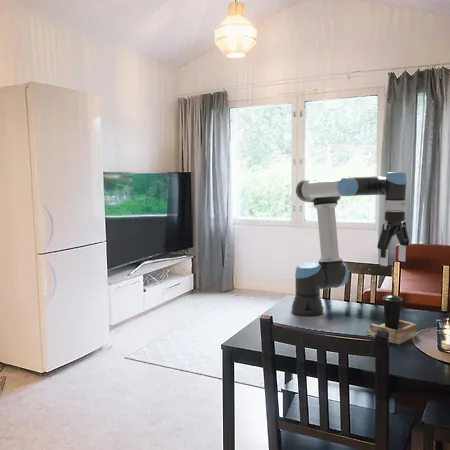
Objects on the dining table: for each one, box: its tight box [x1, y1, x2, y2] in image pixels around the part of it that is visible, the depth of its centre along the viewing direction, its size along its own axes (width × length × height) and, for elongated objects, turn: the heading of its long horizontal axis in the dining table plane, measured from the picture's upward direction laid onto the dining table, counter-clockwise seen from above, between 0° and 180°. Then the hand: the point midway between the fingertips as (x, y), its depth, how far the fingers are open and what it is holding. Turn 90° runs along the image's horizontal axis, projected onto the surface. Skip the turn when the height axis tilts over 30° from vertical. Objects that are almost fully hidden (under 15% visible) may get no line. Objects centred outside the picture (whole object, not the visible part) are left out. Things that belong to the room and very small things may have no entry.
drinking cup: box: [382, 282, 404, 330], centre depth 185 cm, size 8×8×20 cm
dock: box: [366, 319, 418, 345], centre depth 185 cm, size 14×14×5 cm
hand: (393, 263), depth 183 cm, fingers open, 13 cm apart
